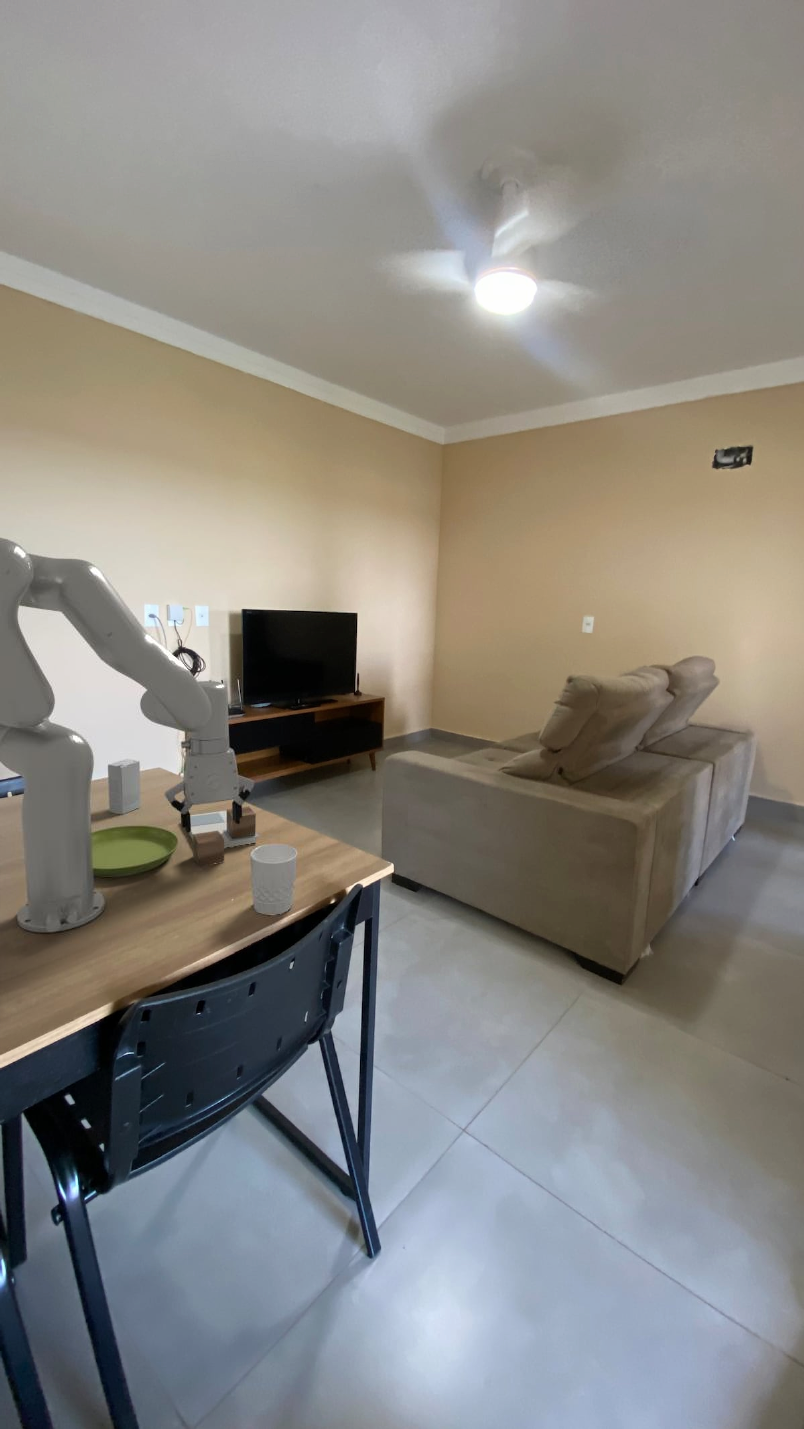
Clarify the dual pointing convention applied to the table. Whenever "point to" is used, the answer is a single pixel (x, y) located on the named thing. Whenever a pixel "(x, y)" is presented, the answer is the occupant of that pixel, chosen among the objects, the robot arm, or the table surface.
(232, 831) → the block
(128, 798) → the skincare box
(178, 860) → the table surface
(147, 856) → the green plate
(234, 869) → the table surface
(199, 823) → the build board
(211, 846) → the block
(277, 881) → the white cup
